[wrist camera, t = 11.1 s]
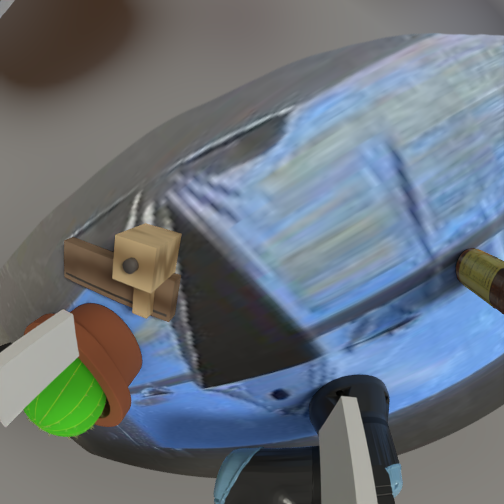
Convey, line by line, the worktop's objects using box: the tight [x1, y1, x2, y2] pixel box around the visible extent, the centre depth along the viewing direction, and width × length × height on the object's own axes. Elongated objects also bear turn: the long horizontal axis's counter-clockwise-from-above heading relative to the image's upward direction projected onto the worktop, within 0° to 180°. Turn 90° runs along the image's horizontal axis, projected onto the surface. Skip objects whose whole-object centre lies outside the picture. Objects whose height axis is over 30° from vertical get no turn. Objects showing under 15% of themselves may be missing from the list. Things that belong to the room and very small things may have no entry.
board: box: [64, 237, 181, 322], centre depth 39 cm, size 7×22×3 cm, turn 75°
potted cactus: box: [23, 303, 142, 439], centre depth 34 cm, size 22×22×25 cm
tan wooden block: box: [112, 223, 181, 319], centre depth 35 cm, size 12×6×9 cm, turn 165°
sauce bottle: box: [456, 248, 504, 314], centre depth 23 cm, size 7×6×20 cm
